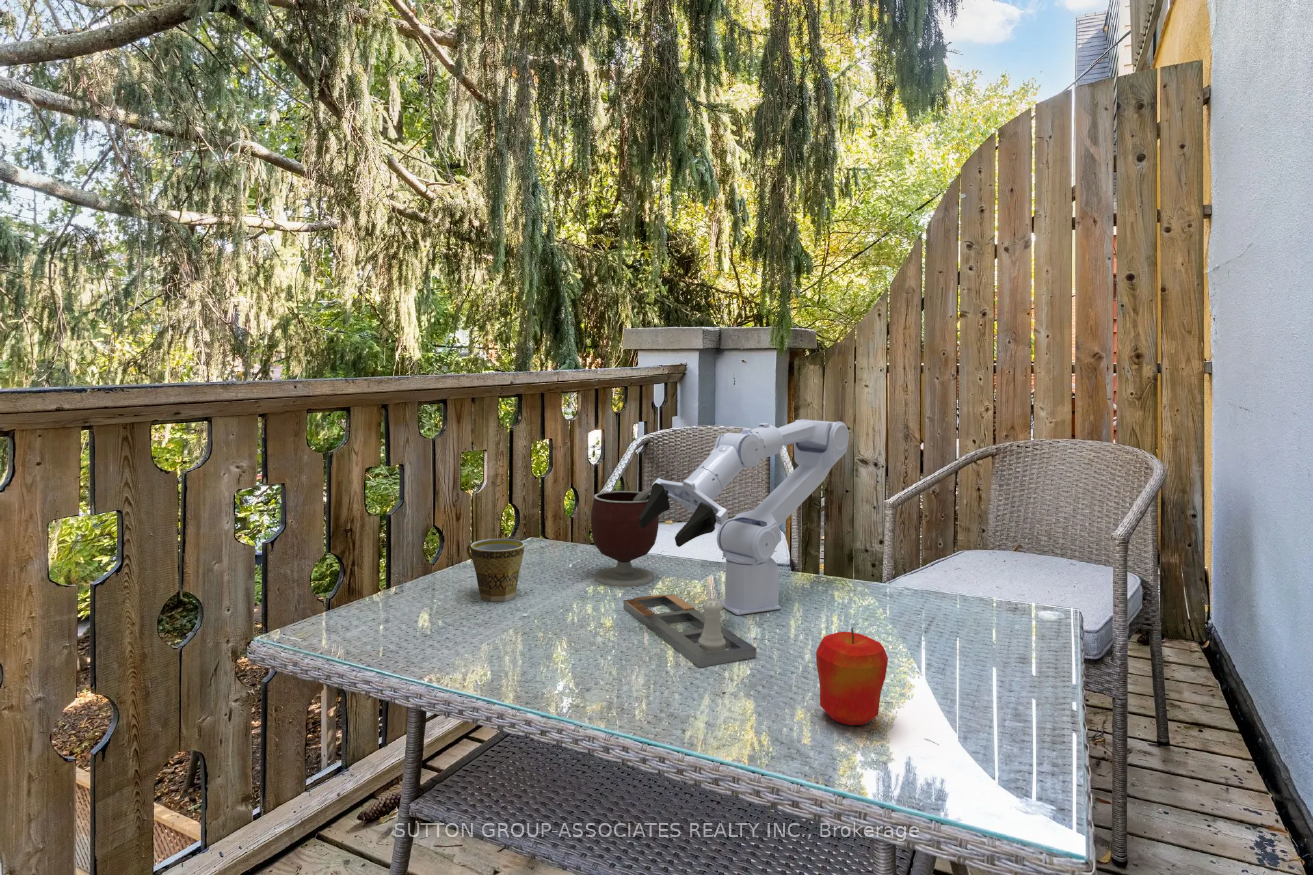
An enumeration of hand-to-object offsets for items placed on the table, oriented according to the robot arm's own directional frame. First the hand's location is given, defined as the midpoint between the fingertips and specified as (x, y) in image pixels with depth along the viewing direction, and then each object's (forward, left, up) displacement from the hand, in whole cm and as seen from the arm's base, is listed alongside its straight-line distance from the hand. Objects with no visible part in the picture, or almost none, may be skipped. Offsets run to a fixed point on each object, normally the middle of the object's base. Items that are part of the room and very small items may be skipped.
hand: (658, 532), depth 122 cm
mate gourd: (-8, -32, -17) cm, 37 cm away
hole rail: (-5, 0, -17) cm, 18 cm away
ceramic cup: (+20, -31, -17) cm, 41 cm away
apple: (-10, +36, -17) cm, 41 cm away
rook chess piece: (-5, +10, -17) cm, 20 cm away
